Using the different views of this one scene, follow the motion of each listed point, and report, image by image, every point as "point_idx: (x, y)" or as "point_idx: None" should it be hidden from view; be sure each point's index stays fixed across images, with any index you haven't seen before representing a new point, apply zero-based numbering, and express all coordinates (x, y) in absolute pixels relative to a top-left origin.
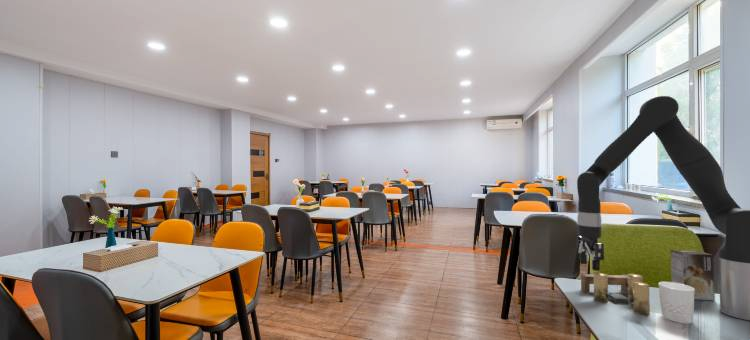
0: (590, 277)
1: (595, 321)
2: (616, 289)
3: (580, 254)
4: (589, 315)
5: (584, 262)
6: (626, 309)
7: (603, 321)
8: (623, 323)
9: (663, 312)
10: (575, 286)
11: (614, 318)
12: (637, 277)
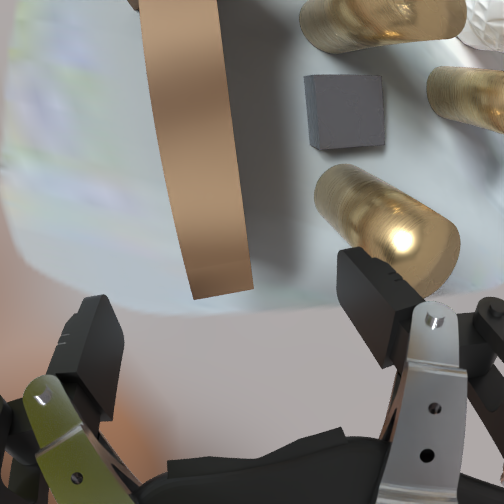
0: (246, 248)
1: (479, 277)
2: (120, 30)
3: (105, 419)
4: (455, 282)
5: (110, 320)
6: (427, 133)
7: (483, 258)
8: (497, 211)
9: (482, 47)
10: (139, 257)
11: (477, 221)
12: (466, 12)
